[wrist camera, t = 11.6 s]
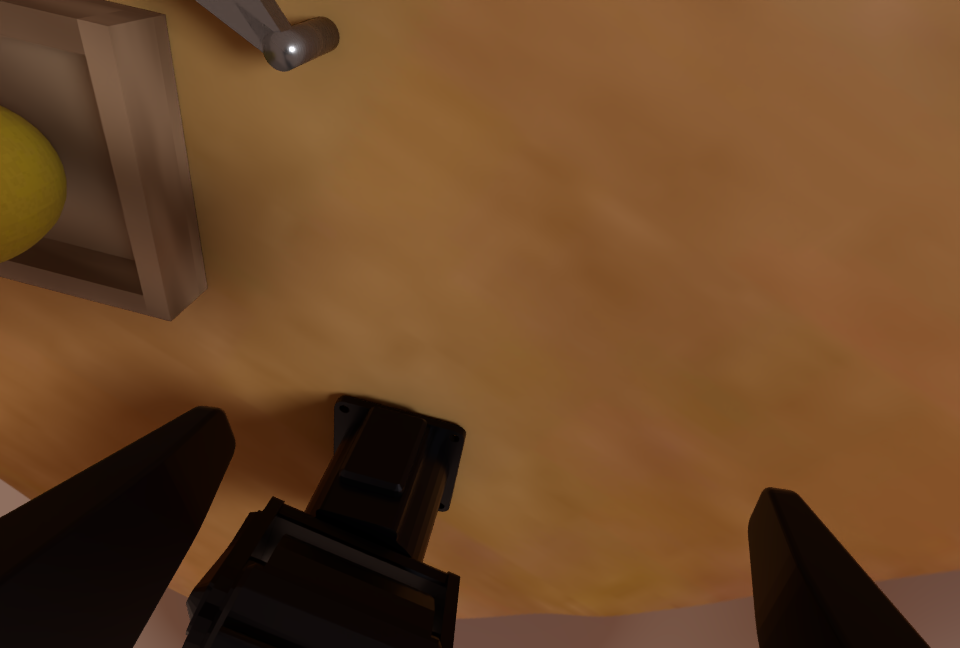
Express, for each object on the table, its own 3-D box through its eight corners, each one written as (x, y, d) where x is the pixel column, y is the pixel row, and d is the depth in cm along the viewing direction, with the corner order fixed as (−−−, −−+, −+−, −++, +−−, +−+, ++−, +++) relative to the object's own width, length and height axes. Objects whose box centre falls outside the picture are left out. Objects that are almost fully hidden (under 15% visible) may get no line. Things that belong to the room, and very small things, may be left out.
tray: (207, 288, 25) (171, 321, 23) (-19, 230, 26) (-75, 257, 24) (164, 14, 18) (108, 26, 16) (-139, -56, 19) (-231, -53, 17)
